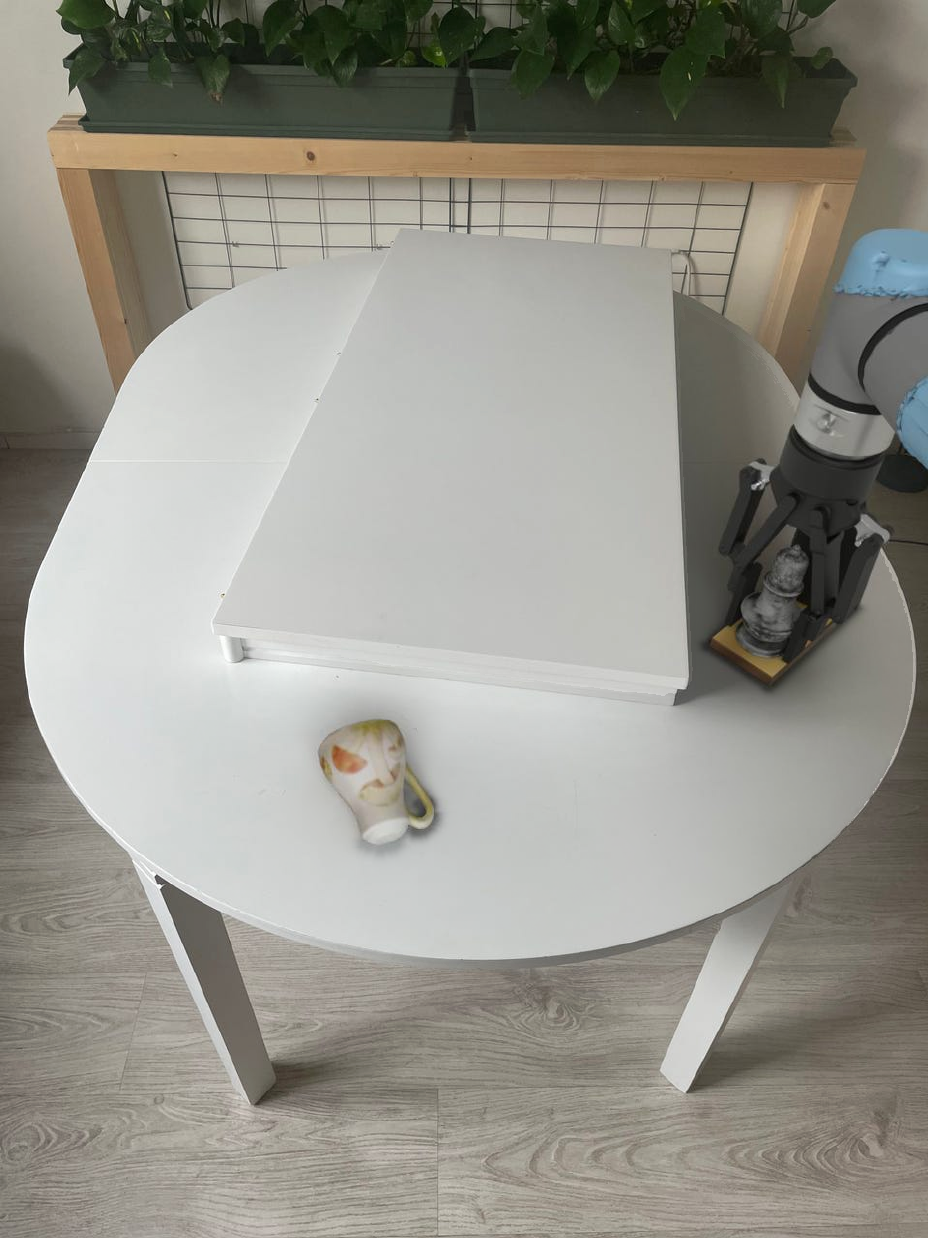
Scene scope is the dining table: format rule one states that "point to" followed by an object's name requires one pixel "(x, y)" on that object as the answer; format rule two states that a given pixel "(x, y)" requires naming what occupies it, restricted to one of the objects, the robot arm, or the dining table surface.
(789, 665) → the strip board
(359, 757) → the mug
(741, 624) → the grey chess piece
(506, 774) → the dining table surface
